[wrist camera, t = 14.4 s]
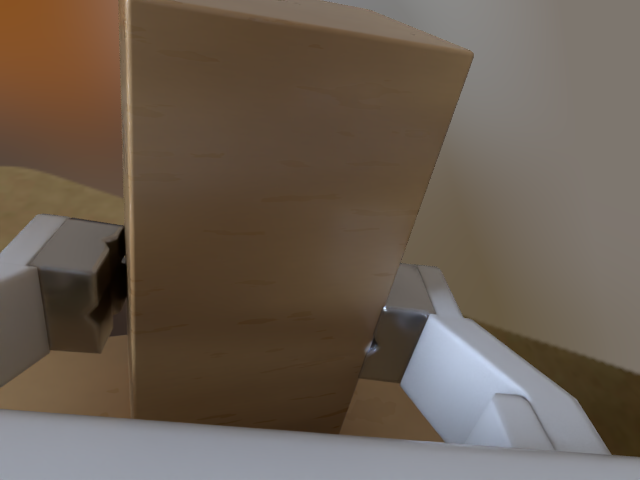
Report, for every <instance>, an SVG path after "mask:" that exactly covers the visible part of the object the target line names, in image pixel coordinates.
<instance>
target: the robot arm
mask: <svg viewBox="0 0 640 480" xmlns="http://www.w3.org/2000/svg"><path fill="white" fill-rule="evenodd" d="M124 256H125V226H123V225H117V224H110V223H104V222H97V221H91V220H85V219H78V218H70V217H66V216H58V215H50V214H39V215H36V216H35V217H34V218H33V219H32V220H31V221H30V223H29V224H28V225H27V226H26V227H25V228H24V229H23V230H22V231H21V232H20V233H19V234H18V235H17V236H16V237H15V238H14V239H13V240H12V241H11V242H10V243H9V244H8V246H7V247H6V248H5V249H4V250H3V251H2V252H1V253H0V388H1V387H2V386H4V385H5V384H7V383H8V382H9V381H11V380H12V379H14V378H15V377H16V376H18V375H19V374H21V373H22V372H24V371H25V370H26V369H28V368H29V367H31V366H32V365H33V364H35V363H36V362H38V361H39V360H40V359H42V358H43V357H45V356H46V355H48V354H49V353H50V350H53V351H67V352H82V353H96V354H101V353H102V350H103V348H104V346H105V344H106V342H107V340H108V338H109V336H110V334H111V331H112V329H113V316H114V315H115V314H117V313H119V312H121V310H122V308H123V305H124V303H125V301H126V266H125V258H124ZM373 336H374V338H373V341H372V344H371V346H370V349H369V350H368V351H367V352H366V355H365V358H364V361H363V364H362V367H361V370H360V373H359V376H358V378H360V379H368V380H376V381H384V382H392V383H400V387H401V388H402V389H403V390H404V392H405V393H406V394H407V395H408V397H409V398H410V399H411V400H412V402H413V403H414V404H415V406H416V407H417V408H418V409H419V411H420V412H421V413H422V414H423V416H424V417H425V418H426V419H427V421H428V422H429V423H430V424H431V426H432V427H433V428H434V429H435V431H436V432H437V433H438V434H439V436H440V437H441V438H442V439H443V441H444V442H445V443H443V442H431V441H418V440H405V439H392V438H379V437H366V436H354V435H341V434H328V433H315V432H302V431H289V430H276V429H262V428H249V427H236V426H222V425H209V424H196V423H182V422H169V421H155V420H142V419H129V418H115V417H102V416H89V415H76V414H62V413H49V412H36V411H23V410H9V409H0V480H640V457H632V456H618V455H611V453H610V452H609V450H608V448H607V447H606V445H605V444H604V442H603V440H602V439H601V437H600V436H599V434H598V432H597V431H596V429H595V428H594V426H593V425H592V423H591V421H590V420H589V418H588V417H587V415H586V413H585V412H584V410H583V409H582V407H581V405H580V404H579V402H578V401H577V399H576V398H574V397H573V396H572V395H570V394H569V393H568V392H566V391H565V390H564V389H563V388H561V387H560V386H559V385H557V384H556V383H555V382H553V381H552V380H551V379H549V378H548V377H547V376H545V375H544V374H543V373H541V372H540V371H539V370H537V369H536V368H535V367H534V366H532V365H531V364H530V363H528V362H527V361H526V360H524V359H523V358H522V357H520V356H519V355H518V354H516V353H515V352H514V351H512V350H511V349H510V348H508V347H507V346H506V345H505V344H503V343H502V342H501V341H499V340H498V339H497V338H495V337H494V336H493V335H491V334H490V333H489V332H487V331H486V330H485V329H483V328H482V327H481V326H480V325H478V324H477V323H476V322H474V321H473V320H472V319H468V318H463V316H462V313H461V311H460V309H459V307H458V305H457V303H456V301H455V299H454V297H453V295H452V293H451V290H450V289H449V286H448V284H447V282H446V280H445V278H444V276H443V274H442V271H441V270H440V269H439V268H437V267H435V266H425V265H412V264H402V263H400V265H399V268H398V271H397V274H396V276H395V279H394V282H393V285H392V288H391V290H390V293H389V296H388V299H387V302H386V304H385V305H384V306H383V307H382V310H381V313H380V315H379V318H378V321H377V324H376V326H375V329H374V332H373Z"/></svg>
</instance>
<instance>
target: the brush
mask: <svg viewBox="0 0 640 480" xmlns="http://www.w3.org/2000/svg"><path fill="white" fill-rule="evenodd" d="M118 2H119V40H120V78H121V114H122V115H121V116H122V152H123V153H122V154H123V189H124V226H125V266H126V304H127V335H120V336H111V337H109V338H108V340H107V342H106V344H105V346H104V348H103V350H102V353H101V354H96V353H82V352H67V351H53V350H50V353H49V354H48V355H46V356H45V357H43V358H42V359H40V360H39V361H38V362H36V363H35V364H33V365H32V366H31V367H29V368H28V369H26V370H25V371H24V372H22V373H21V374H19V375H18V376H16V377H15V378H14V379H12V380H11V381H9V382H8V383H7V384H5V385H4V386H2V387H1V388H0V409H9V410H23V411H36V412H49V413H62V414H76V415H89V416H102V417H115V418H129V419H142V420H155V421H169V422H182V423H196V424H209V425H222V426H236V427H249V428H262V429H276V430H289V431H302V432H315V433H328V434H341V435H354V436H366V437H379V438H392V439H405V440H418V441H431V442H443V443H445V442H444V441H443V439H442V438H441V437H440V436H439V434H438V433H437V432H436V431H435V429H434V428H433V427H432V426H431V424H430V423H429V422H428V421H427V419H426V418H425V417H424V416H423V414H422V413H421V412H420V411H419V409H418V408H417V407H416V406H415V404H414V403H413V402H412V400H411V399H410V398H409V397H408V395H407V394H406V393H405V392H404V390H403V389H402V388H401V387H400V383H392V382H384V381H376V380H368V379H360V378H358V376H359V373H360V370H361V367H362V364H363V361H364V358H365V355H366V352H367V351H368V350H369V349H370V346H371V344H372V341H373V338H374V336H373V332H374V329H375V326H376V324H377V321H378V318H379V315H380V313H381V310H382V307H383V306H384V305H385V304H386V302H387V299H388V296H389V293H390V290H391V288H392V285H393V282H394V279H395V276H396V274H397V271H398V268H399V265H400V262H401V260H402V257H403V254H404V251H405V248H406V245H407V243H408V240H409V237H410V234H411V231H412V229H413V226H414V223H415V220H416V217H417V215H418V212H419V209H420V206H421V203H422V200H423V198H424V195H425V192H426V189H427V187H428V184H429V181H430V178H431V175H432V173H433V170H434V167H435V164H436V161H437V159H438V156H439V153H440V150H441V147H442V145H443V142H444V139H445V136H446V133H447V131H448V128H449V125H450V122H451V119H452V116H453V114H454V111H455V108H456V105H457V102H458V100H459V97H460V94H461V91H462V88H463V86H464V83H465V80H466V77H467V74H468V72H469V68H470V66H471V63H472V60H473V58H474V54H473V52H471V51H470V50H468V49H465V48H463V47H460V46H458V45H455V44H453V43H450V42H448V41H445V40H443V39H441V38H438V37H436V36H433V35H431V34H428V33H426V32H423V31H421V30H418V29H416V28H413V27H411V26H409V25H406V24H404V23H401V22H399V21H396V20H393V19H391V18H389V17H386V16H384V15H381V14H379V13H376V12H373V11H371V10H368V9H363V8H358V7H353V6H348V5H342V4H337V3H332V2H326V1H321V0H118Z"/></svg>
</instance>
